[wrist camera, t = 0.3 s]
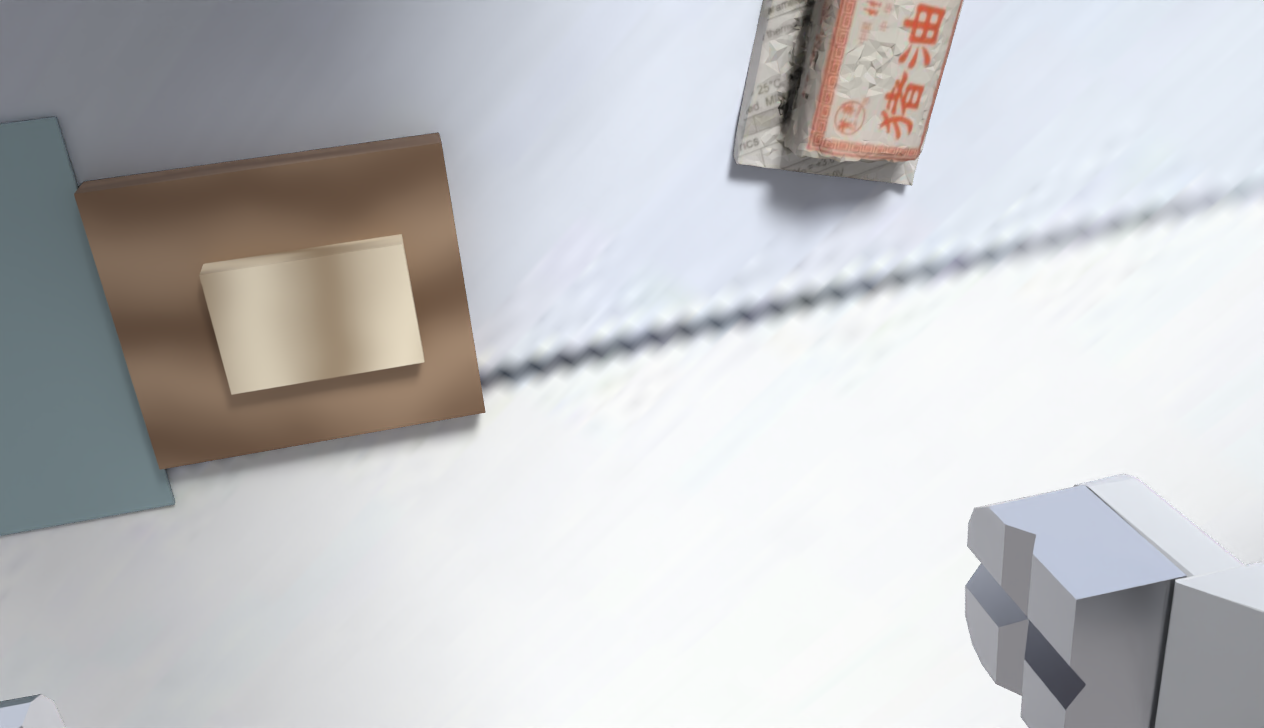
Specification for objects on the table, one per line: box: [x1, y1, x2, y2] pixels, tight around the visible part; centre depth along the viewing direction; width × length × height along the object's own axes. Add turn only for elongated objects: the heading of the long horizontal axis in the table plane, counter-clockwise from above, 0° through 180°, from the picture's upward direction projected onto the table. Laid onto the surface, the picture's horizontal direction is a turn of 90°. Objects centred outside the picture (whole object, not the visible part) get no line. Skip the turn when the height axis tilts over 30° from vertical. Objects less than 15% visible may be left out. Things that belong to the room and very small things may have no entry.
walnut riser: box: [74, 133, 485, 470], centre depth 55 cm, size 14×16×2 cm
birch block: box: [199, 234, 424, 395], centre depth 54 cm, size 9×6×2 cm, turn 95°
